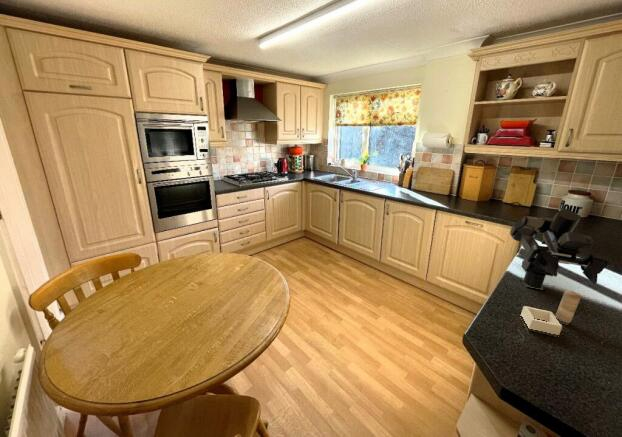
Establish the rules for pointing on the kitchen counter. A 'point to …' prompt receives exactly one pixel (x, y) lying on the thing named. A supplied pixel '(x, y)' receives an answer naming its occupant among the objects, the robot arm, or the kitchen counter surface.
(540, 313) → the cream square tray
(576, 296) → the wick dowel
